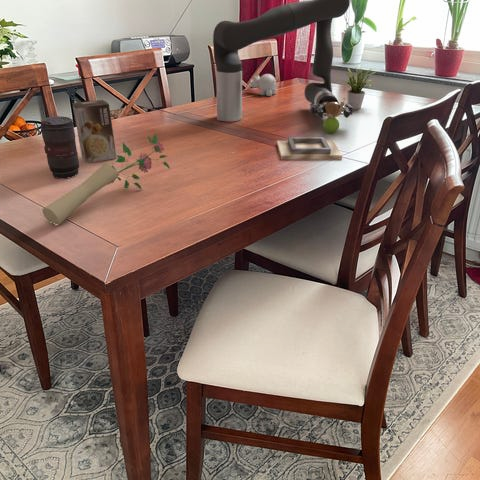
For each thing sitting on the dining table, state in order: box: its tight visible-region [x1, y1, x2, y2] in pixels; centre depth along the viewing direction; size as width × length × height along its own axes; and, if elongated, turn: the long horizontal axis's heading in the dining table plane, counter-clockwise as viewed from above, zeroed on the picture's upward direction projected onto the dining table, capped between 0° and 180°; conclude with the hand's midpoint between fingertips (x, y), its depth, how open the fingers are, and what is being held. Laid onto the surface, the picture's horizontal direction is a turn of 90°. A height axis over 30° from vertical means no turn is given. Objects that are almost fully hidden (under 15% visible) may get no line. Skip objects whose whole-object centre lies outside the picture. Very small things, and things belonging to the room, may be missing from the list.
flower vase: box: [42, 133, 171, 226], centre depth 118 cm, size 12×12×35 cm
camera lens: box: [40, 115, 80, 179], centre depth 129 cm, size 8×8×15 cm
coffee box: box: [71, 99, 118, 164], centre depth 140 cm, size 9×6×16 cm
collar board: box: [276, 136, 343, 160], centre depth 150 cm, size 18×14×3 cm
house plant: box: [343, 65, 378, 110], centre depth 193 cm, size 14×14×16 cm
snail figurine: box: [322, 97, 346, 134], centre depth 164 cm, size 5×6×12 cm
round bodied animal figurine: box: [250, 73, 277, 97], centre depth 215 cm, size 8×12×9 cm, turn 54°
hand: (334, 114), depth 163 cm, fingers open, 8 cm apart
